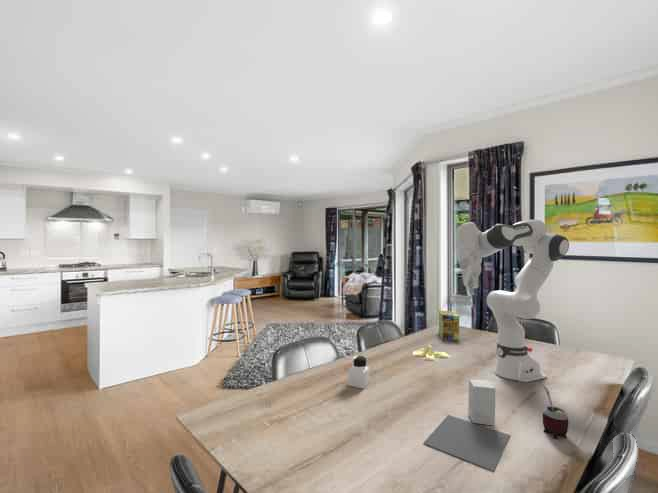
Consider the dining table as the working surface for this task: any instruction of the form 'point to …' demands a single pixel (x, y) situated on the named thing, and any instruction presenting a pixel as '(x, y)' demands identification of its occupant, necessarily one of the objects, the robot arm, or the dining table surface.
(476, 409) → the supplement box
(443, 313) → the protein box
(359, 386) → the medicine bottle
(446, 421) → the mat
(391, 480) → the dining table surface
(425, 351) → the banana bunch
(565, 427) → the mate gourd
